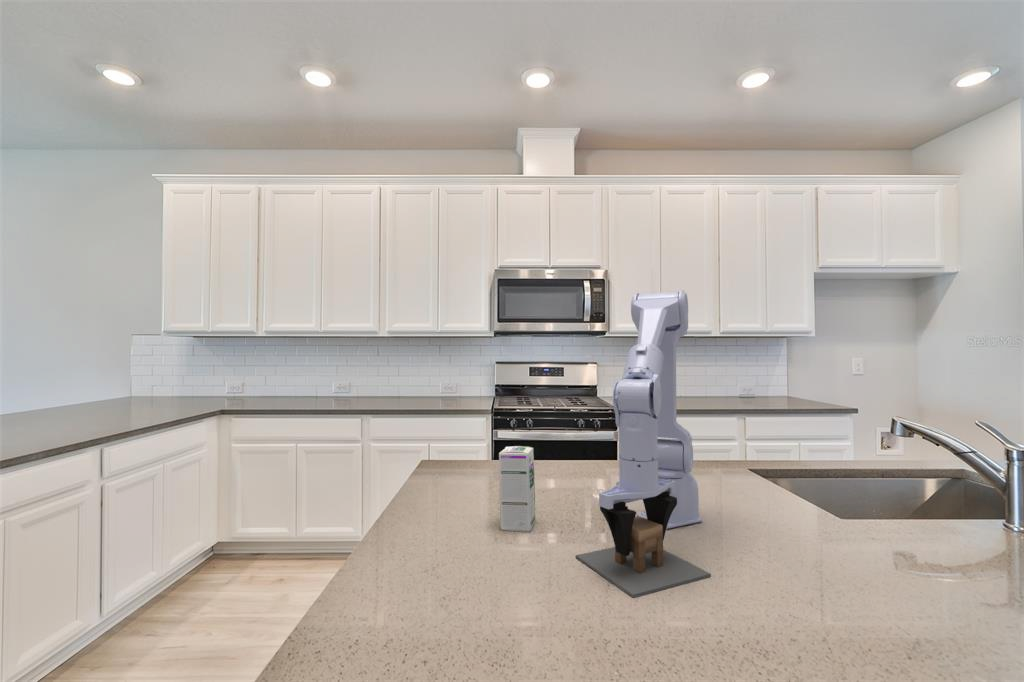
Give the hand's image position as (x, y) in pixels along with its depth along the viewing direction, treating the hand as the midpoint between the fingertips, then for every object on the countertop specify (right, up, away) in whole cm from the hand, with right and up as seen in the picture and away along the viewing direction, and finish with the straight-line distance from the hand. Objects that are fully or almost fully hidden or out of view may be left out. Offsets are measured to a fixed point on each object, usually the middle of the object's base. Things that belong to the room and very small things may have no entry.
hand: (639, 547), depth 73 cm
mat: (0, -3, 0) cm, 3 cm away
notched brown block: (0, -2, 0) cm, 2 cm away
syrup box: (-18, -4, +18) cm, 26 cm away
